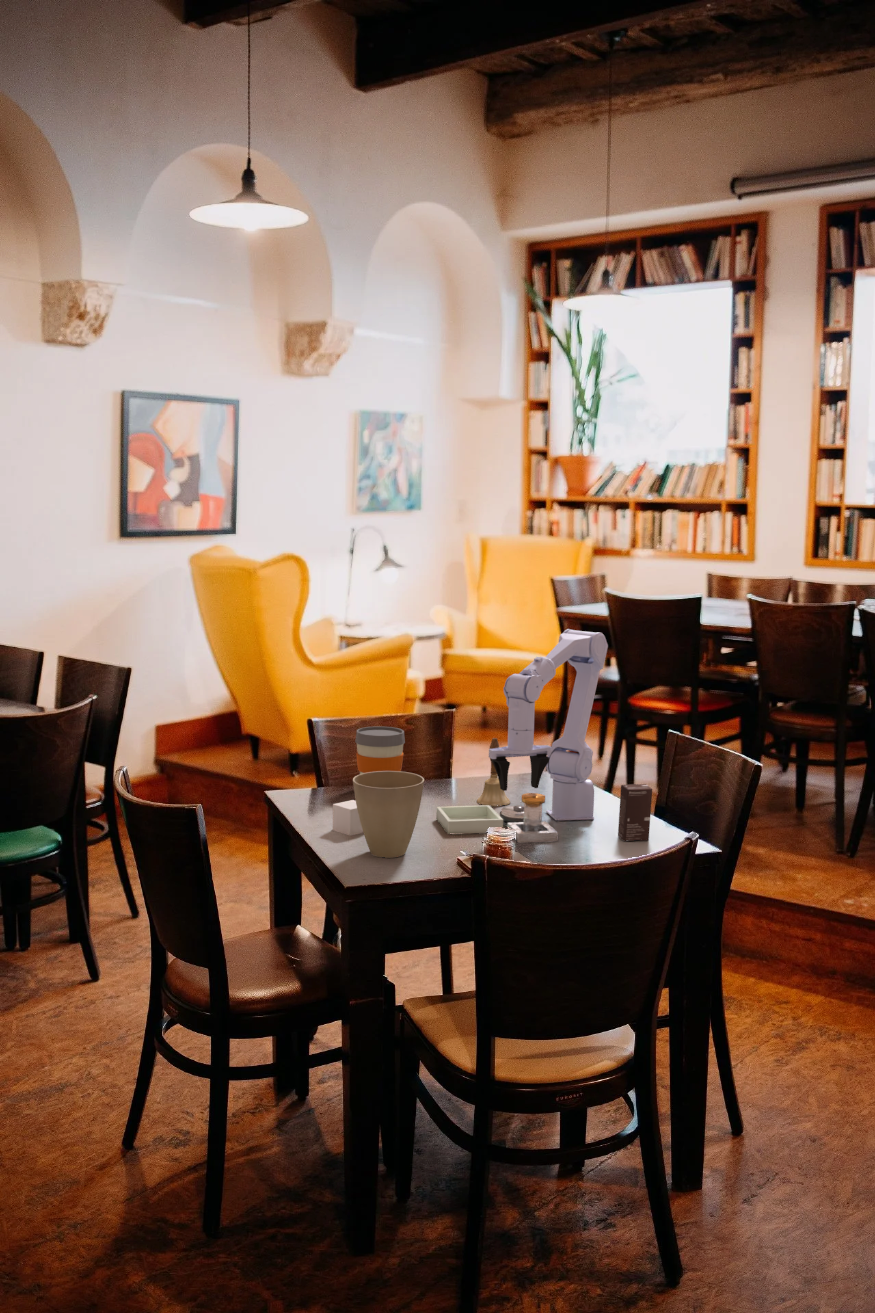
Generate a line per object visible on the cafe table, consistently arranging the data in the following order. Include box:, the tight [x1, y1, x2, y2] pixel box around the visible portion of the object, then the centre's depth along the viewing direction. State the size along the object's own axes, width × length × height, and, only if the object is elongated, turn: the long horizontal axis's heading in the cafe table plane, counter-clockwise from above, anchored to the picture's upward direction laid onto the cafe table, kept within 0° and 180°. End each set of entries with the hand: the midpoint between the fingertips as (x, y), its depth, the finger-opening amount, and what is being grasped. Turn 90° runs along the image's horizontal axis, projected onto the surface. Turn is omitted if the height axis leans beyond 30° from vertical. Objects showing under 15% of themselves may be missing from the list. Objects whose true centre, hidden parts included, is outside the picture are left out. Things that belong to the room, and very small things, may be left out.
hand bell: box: [476, 737, 511, 807], centre depth 300 cm, size 8×8×16 cm
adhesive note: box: [332, 799, 364, 837], centre depth 273 cm, size 6×6×6 cm
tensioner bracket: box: [499, 804, 559, 844], centre depth 277 cm, size 9×20×4 cm, turn 12°
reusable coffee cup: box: [354, 726, 406, 774], centre depth 310 cm, size 13×12×15 cm
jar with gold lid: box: [521, 792, 546, 832], centre depth 272 cm, size 5×5×9 cm
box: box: [617, 783, 653, 842], centre depth 271 cm, size 6×4×12 cm
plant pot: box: [352, 770, 425, 859], centre depth 256 cm, size 15×15×16 cm
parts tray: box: [435, 804, 504, 835], centre depth 279 cm, size 13×13×3 cm
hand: (519, 788), depth 273 cm, fingers open, 7 cm apart
